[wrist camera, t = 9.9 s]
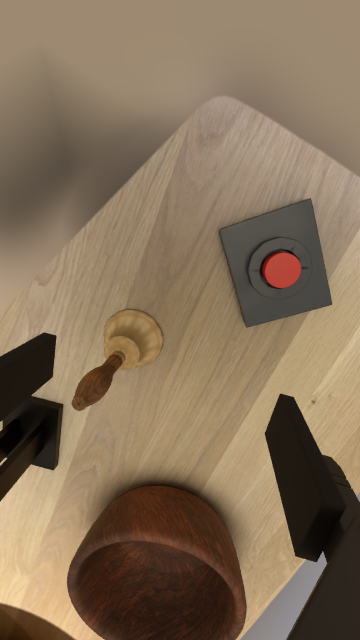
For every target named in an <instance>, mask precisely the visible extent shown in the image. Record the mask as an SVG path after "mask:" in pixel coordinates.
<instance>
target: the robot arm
mask: <svg viewBox="0 0 360 640" xmlns="http://www.w3.org/2000/svg"><path fill="white" fill-rule="evenodd" d="M55 346H56V335H52V334H48V333H42V334H40V335H38V336H37V337H35V338H33V339H31V340H29V341H28V342H26V343H24V344H22V345H20V346H19V347H17V348H15V349H13V350H11V351H10V352H8V353H6V354H4V355H2V356H1V357H0V422H1V421H2V420H3V419H4V418H5V417H7V416H8V415H9V414H10V413H11V412H12V411H14V410H15V409H16V408H17V407H18V406H19V405H21V404H22V403H23V402H24V401H25V400H26V399H28V398H29V397H30V396H31V395H32V394H33V393H35V392H36V391H37V390H38V389H39V388H40V387H42V386H43V385H44V384H45V383H46V382H47V381H49V380H50V379H51V378H52V377H53V368H54V357H55ZM265 436H266V440H267V444H268V448H269V452H270V456H271V460H272V464H273V468H274V472H275V476H276V480H277V484H278V488H279V492H280V496H281V500H282V504H283V508H284V512H285V516H286V520H287V524H288V528H289V532H290V536H291V540H292V544H293V548H294V552H295V556H297V557H300V558H303V559H307V560H310V561H314V562H317V561H318V559H319V557H320V555H321V553H322V551H323V552H324V555H325V558H326V561H327V565H326V567H325V569H324V570H323V572H322V574H321V576H320V578H319V579H318V581H317V583H316V585H315V587H314V589H313V591H312V593H311V595H310V596H309V598H308V600H307V602H306V604H305V606H304V608H303V609H302V611H301V613H300V615H299V617H298V619H297V620H296V622H295V624H294V626H293V628H292V630H291V632H290V634H289V635H288V637H287V639H286V640H360V502H359V500H358V499H357V497H356V495H355V493H354V491H353V489H351V486H350V484H349V482H348V480H346V476H345V474H344V473H343V471H342V469H341V467H340V466H339V465H338V464H337V463H336V462H335V461H334V460H333V459H332V458H331V457H329V456H325V455H322V454H321V452H320V450H319V448H318V446H317V444H316V442H315V440H314V438H313V436H312V434H311V432H310V430H309V427H308V425H307V423H306V421H305V419H304V417H303V415H302V413H301V411H300V409H299V407H298V405H297V403H296V401H295V399H294V397H291V396H287V395H284V394H280V395H279V398H278V400H277V403H276V405H275V408H274V411H273V413H272V416H271V419H270V421H269V424H268V426H267V429H266V432H265Z"/></svg>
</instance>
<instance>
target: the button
mask: <svg viewBox="0 0 360 640" xmlns="http://www.w3.org/2000/svg"><path fill="white" fill-rule="evenodd" d="M262 273H263V276H264V278H265V280H266V281H267V282H268V283H270V284H271V285H272V286H274V287H277V288H286V287H289V286H291V285H293V284H294V283H295V282H296V281H297V280H298V278H299V276H300V273H301V265H300V262H299V260H298V259H297V258H296V257H295V256H294V255H292V254H290V253H285V252H277V253H274V254H272V255H270V256H269V257H268V258H267V259H266V260H265V262H264V264H263V267H262Z"/></svg>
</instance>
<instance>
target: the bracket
mask: <svg viewBox="0 0 360 640" xmlns="http://www.w3.org/2000/svg"><path fill="white" fill-rule="evenodd" d="M62 410H63V404H59V403H55V402H51V401H47V400H43V399H40V398H36V397H32V396H30V397H29V398H28V399H26V400H25V401H24V402H23V403H22V404H21V405H19V406H18V407H17V408H16V409H15V410H14V411H12V412H11V413H10V414H9V415H8V416H7V417H5V418H4V419H3V430H1V431H0V463H1V462H2V460H3V459H4V458H5V457H6V458H7V459H6V461H5V462H4V463H3V464H2V465H1V466H0V501H1V500H2V499H3V498H4V496H5V495H6V494H7V493H8V491H9V490H10V489H11V488H12V487H13V485H14V484H15V483H16V482H17V480H18V479H19V478H20V477H21V476H22V474H23V473H24V472H25V471H26V469H27V468H28V467H29V466H30V465H31V464H32V465H35V466H39V467H43V468H46V469H50V470H54V469H55V468H56V466H57V465H58V454H59V443H60V432H61V421H62Z"/></svg>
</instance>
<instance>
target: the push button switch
mask: <svg viewBox="0 0 360 640" xmlns="http://www.w3.org/2000/svg"><path fill="white" fill-rule="evenodd" d="M219 233H220V237H221V240H222V244H223V247H224V251H225V255H226V258H227V262H228V265H229V269H230V272H231V276H232V279H233V283H234V286H235V290H236V294H237V297H238V301H239V304H240V308H241V311H242V315H243V318H244V322H245V325H246V327H251V326H254V325H258V324H262V323H266V322H269V321H273V320H277V319H281V318H284V317H288V316H292V315H296V314H299V313H303V312H307V311H311V310H314V309H318V308H322V307H325V306H329V305H332V300H331V295H330V290H329V285H328V280H327V275H326V270H325V265H324V260H323V255H322V250H321V245H320V240H319V235H318V230H317V225H316V220H315V215H314V210H313V205H312V200H311V198H310V199H307V200H304V201H301V202H298V203H295V204H292V205H289V206H286V207H283V208H281V209H278V210H275V211H272V212H269V213H266V214H263V215H260V216H257V217H254V218H251V219H248V220H246V221H243V222H240V223H237V224H234V225H231V226H228V227H225V228H222V229H220V230H219ZM277 252H285V253H290V254H292V255H294V256H295V257H296V258H297V259H298V260H299V262H300V265H301V273H300V276H299V278H298V280H297V281H296V282H295V283H294V284H293V285H291V286H289V287H286V288H277V287H274V286H272V285H271V284H270V283H268V282H267V281H266V280H265V278H264V276H263V273H262V267H263V264H264V262H265V260H266V259H267V258H268V257H269V256H270V255H272V254H274V253H277Z"/></svg>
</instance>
